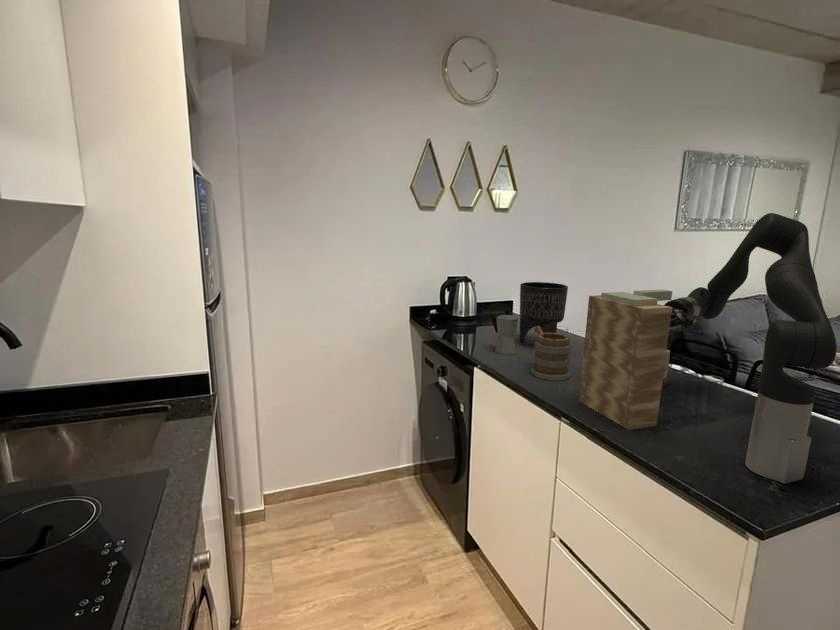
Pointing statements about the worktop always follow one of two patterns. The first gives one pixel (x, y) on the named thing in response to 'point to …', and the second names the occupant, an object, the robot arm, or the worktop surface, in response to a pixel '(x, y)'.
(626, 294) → the sage mallet
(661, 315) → the wooden crate
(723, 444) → the worktop surface
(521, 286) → the planter
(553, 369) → the tankard
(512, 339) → the coffee maker
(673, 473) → the worktop surface
